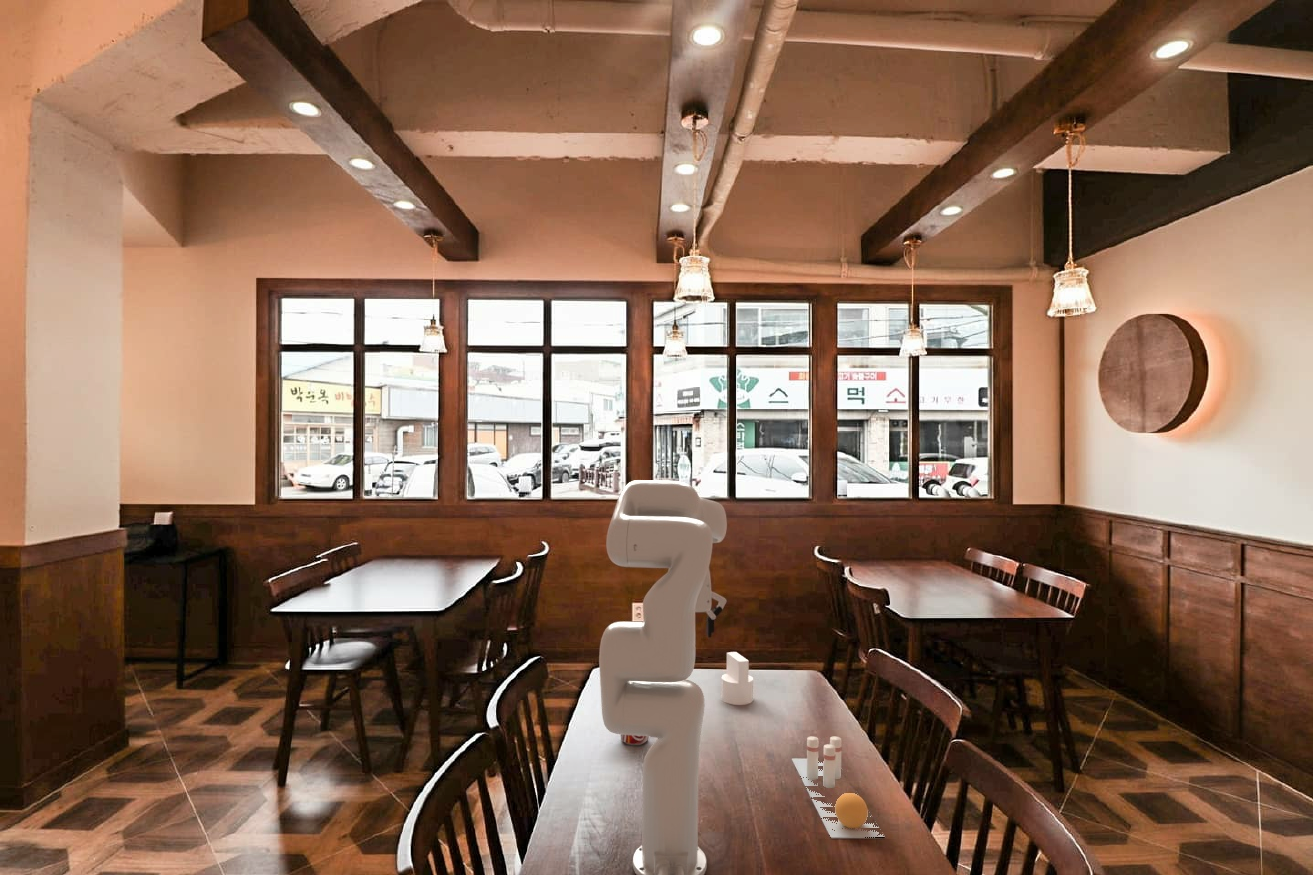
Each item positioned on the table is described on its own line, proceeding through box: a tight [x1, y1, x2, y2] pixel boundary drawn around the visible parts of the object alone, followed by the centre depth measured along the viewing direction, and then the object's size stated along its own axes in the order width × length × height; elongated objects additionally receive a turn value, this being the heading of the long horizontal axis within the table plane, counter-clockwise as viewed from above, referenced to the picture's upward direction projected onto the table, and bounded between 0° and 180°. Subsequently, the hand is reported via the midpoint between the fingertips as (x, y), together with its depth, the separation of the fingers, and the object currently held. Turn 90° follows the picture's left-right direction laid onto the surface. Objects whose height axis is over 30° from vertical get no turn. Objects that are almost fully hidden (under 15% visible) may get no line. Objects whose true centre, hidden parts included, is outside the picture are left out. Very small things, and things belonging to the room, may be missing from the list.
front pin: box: [822, 743, 836, 788], centre depth 146 cm, size 2×2×8 cm
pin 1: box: [806, 735, 820, 780], centre depth 150 cm, size 2×2×8 cm
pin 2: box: [829, 735, 843, 779], centre depth 150 cm, size 2×2×8 cm
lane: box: [791, 758, 886, 839], centre depth 143 cm, size 32×10×1 cm, turn 2°
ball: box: [835, 793, 869, 829], centre depth 131 cm, size 6×6×6 cm
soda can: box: [620, 734, 650, 746], centre depth 168 cm, size 7×7×12 cm
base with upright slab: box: [720, 651, 754, 706], centre depth 197 cm, size 9×9×12 cm
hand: (687, 635), depth 157 cm, fingers open, 9 cm apart
